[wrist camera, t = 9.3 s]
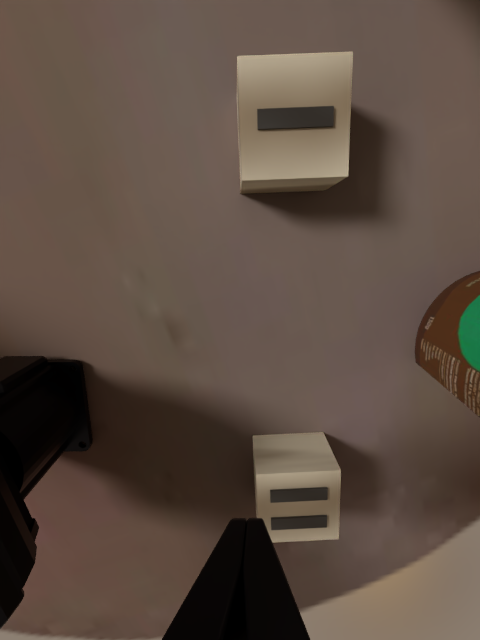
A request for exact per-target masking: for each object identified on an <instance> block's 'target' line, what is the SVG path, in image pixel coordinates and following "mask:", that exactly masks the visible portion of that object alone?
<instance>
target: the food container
mask: <svg viewBox="0 0 480 640" xmlns="http://www.w3.org/2000/svg"><path fill="white" fill-rule="evenodd" d="M415 358H416V363H417V364H418V365H419V366H420V367H422V368H423V369H424V370H425V371H426V372H427V373H429V374H430V375H431V376H432V377H433V378H434V379H436V380H437V381H438V382H439V383H440V384H441V385H443V386H444V387H445V388H446V389H447V390H448V391H450V392H451V393H452V394H453V395H454V396H455V397H457V398H458V399H459V400H460V401H461V402H462V403H464V404H465V405H466V406H467V407H468V408H469V409H471V410H472V411H473V412H474V413H475V414H476V415H478V416H479V417H480V271H478V272H475V273H472V274H470V275H467V276H465V277H463V278H461V279H459V280H457V281H455V282H454V283H453V284H451V285H450V286H449V287H447V288H446V289H445V290H444V291H443V292H442V293H441V294H440V295H439V296H438V297H437V298H436V299H435V300H434V301H433V303H432V304H431V305H430V306H429V308H428V310H427V311H426V313H425V315H424V317H423V319H422V321H421V324H420V326H419V329H418V333H417V337H416V343H415Z"/></svg>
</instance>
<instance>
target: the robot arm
mask: <svg viewBox="0 0 480 640" xmlns="http://www.w3.org/2000/svg"><path fill="white" fill-rule="evenodd" d="M71 366H74V367H76V371H75V370H73V369H72V367H71ZM82 442H85V443H86V444H83V443H82ZM91 445H92V434H91V426H90V418H89V410H88V402H87V394H86V386H85V378H84V371H83V365H82V363H81V362H80V361H78V360H47V358H45V357H43V356H9V357H3V358H1V359H0V629H1V628H2V626H3V625H4V624H5V623H6V622H7V621H8V619H9V618H10V617H11V615H12V614H13V612H14V611H15V610H16V608H17V607H18V606H19V604H20V603H21V601H22V599H23V597H24V591H23V589H22V588H23V587H24V585H25V583H26V581H27V579H28V576H29V574H30V572H31V570H32V568H33V566H34V564H35V557H36V549H37V546H36V544H35V539H36V536H37V533H38V529H39V526H38V524H37V522H36V520H35V518H32V517H31V515H30V513H29V511H28V509H27V506H26V504H25V502H24V499H25V497H26V496H27V495H28V494H29V493H30V491H31V490H32V489H33V488H34V487H35V485H36V484H37V483H38V482H39V481H40V479H41V478H42V477H43V476H44V475H45V473H46V472H47V471H48V470H49V469H50V467H51V466H52V465H53V464H54V463H55V461H56V460H57V459H58V458H59V457H60V455H61V454H62V453H63V452H64V451H86V450H88V449H89V448H90V446H91ZM162 640H310V638H309V635H308V633H307V630H306V628H305V625H304V622H303V620H302V617H301V615H300V612H299V609H298V607H297V604H296V602H295V599H294V597H293V594H292V592H291V589H290V586H289V584H288V581H287V579H286V576H285V574H284V571H283V569H282V566H281V563H280V561H279V558H278V556H277V553H276V551H275V548H274V545H273V543H272V540H271V538H270V535H269V533H268V530H267V528H266V525H265V522H264V520H263V519H262V518H249V519H248V520H246V519H245V518H233V519H231V520H230V522H229V524H228V525H227V527H226V529H225V531H224V532H223V534H222V536H221V538H220V539H219V541H218V543H217V545H216V546H215V548H214V550H213V551H212V553H211V555H210V557H209V558H208V560H207V562H206V564H205V565H204V567H203V569H202V571H201V572H200V574H199V576H198V578H197V579H196V581H195V583H194V584H193V586H192V588H191V590H190V591H189V593H188V595H187V597H186V598H185V600H184V602H183V604H182V605H181V607H180V609H179V610H178V612H177V614H176V616H175V617H174V619H173V621H172V623H171V624H170V626H169V628H168V630H167V631H166V633H165V635H164V637H163V638H162Z"/></svg>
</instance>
